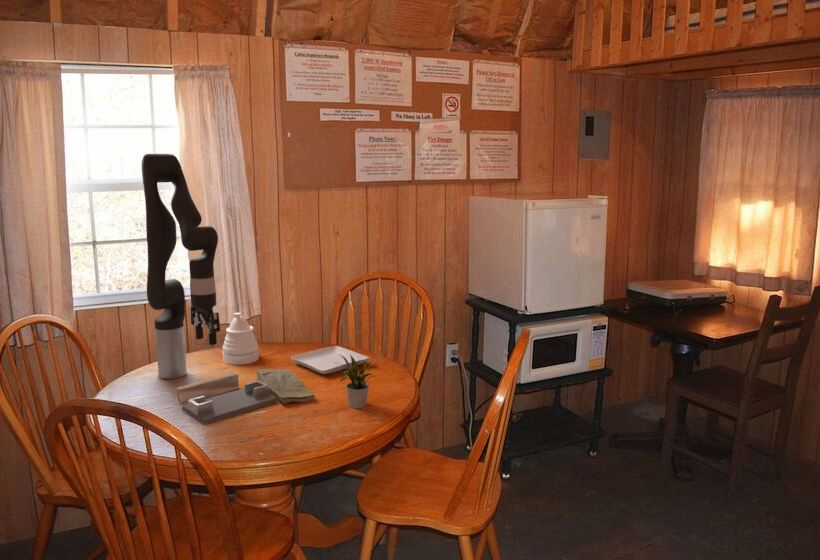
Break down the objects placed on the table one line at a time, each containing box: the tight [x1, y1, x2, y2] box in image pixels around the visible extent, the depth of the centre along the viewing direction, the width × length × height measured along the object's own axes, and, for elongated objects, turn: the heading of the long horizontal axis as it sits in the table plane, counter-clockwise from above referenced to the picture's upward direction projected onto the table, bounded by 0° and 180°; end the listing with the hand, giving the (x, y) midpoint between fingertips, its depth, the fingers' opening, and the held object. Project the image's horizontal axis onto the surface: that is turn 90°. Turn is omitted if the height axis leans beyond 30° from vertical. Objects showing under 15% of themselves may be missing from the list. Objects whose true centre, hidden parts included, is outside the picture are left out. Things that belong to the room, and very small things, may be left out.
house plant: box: [333, 354, 379, 409], centre depth 202 cm, size 14×14×16 cm
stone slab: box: [256, 368, 315, 405], centre depth 217 cm, size 12×4×30 cm
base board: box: [181, 387, 277, 425], centre depth 202 cm, size 14×24×2 cm, turn 134°
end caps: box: [187, 379, 270, 415], centre depth 202 cm, size 6×24×3 cm, turn 134°
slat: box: [176, 371, 240, 405], centre depth 211 cm, size 2×20×5 cm, turn 136°
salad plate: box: [290, 345, 370, 375], centre depth 241 cm, size 21×21×3 cm
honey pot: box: [222, 312, 260, 366], centre depth 245 cm, size 13×13×18 cm
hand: (206, 341), depth 208 cm, fingers open, 8 cm apart
